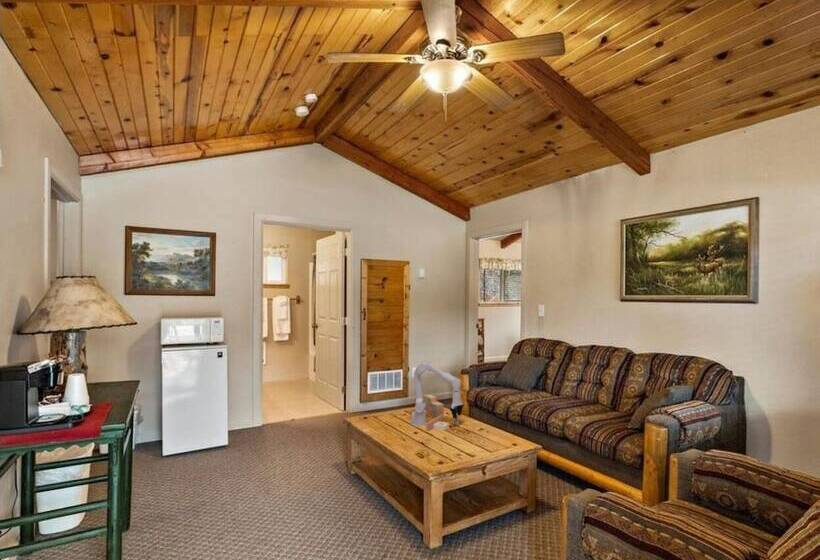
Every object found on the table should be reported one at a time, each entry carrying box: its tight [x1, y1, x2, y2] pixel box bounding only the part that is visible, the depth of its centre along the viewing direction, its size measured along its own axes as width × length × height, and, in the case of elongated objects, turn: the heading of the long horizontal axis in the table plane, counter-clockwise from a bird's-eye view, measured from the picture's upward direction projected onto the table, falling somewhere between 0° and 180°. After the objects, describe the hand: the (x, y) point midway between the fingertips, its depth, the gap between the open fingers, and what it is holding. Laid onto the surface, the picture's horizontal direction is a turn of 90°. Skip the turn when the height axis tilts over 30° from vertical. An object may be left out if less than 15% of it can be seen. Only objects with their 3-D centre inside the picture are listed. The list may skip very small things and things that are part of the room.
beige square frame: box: [433, 421, 450, 431], centre depth 291 cm, size 8×8×2 cm
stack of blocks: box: [423, 393, 445, 418], centre depth 328 cm, size 21×6×12 cm, turn 26°
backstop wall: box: [426, 415, 443, 432], centre depth 294 cm, size 2×20×5 cm, turn 150°
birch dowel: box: [454, 415, 460, 428], centre depth 294 cm, size 2×2×7 cm
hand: (456, 416), depth 294 cm, fingers open, 7 cm apart
